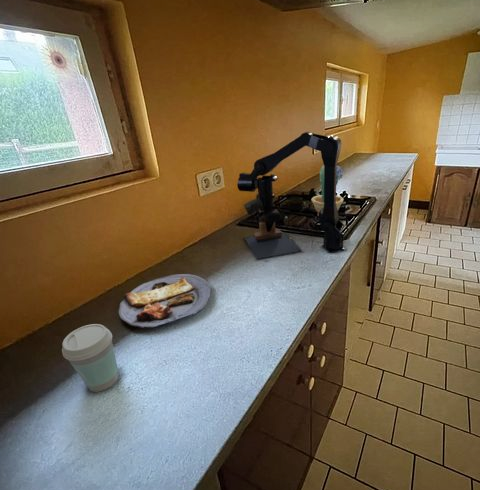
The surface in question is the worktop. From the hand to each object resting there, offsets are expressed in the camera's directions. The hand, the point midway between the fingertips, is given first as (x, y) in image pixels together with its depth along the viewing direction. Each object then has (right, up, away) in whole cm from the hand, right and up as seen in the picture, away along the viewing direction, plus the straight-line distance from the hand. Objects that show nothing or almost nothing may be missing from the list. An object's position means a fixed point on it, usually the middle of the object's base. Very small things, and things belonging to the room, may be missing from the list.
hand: (267, 230), depth 121 cm
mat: (+2, -6, -2) cm, 7 cm away
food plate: (-28, -25, -34) cm, 51 cm away
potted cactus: (+29, +10, +27) cm, 41 cm away
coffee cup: (-33, -37, -58) cm, 76 cm away
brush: (0, -3, +2) cm, 4 cm away
